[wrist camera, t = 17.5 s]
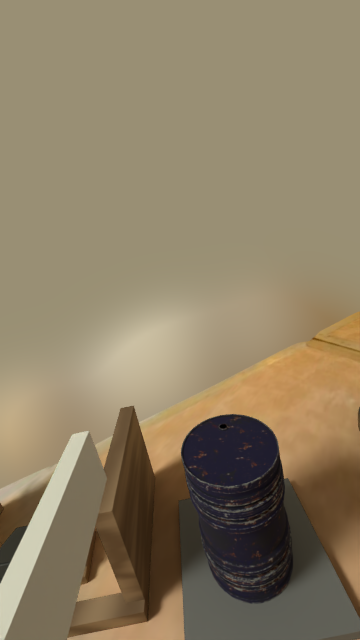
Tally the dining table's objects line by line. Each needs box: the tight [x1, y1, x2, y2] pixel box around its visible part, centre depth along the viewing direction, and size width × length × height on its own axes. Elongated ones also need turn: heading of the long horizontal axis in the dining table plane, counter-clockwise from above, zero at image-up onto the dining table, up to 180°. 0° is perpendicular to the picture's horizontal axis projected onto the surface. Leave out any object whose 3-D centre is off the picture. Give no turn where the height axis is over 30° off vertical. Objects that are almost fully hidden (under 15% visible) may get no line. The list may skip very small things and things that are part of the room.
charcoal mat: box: [179, 478, 360, 640], centre depth 32 cm, size 16×16×1 cm
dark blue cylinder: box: [181, 414, 293, 604], centre depth 30 cm, size 10×10×15 cm
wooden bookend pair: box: [0, 406, 155, 637], centre depth 35 cm, size 28×18×14 cm, turn 93°
